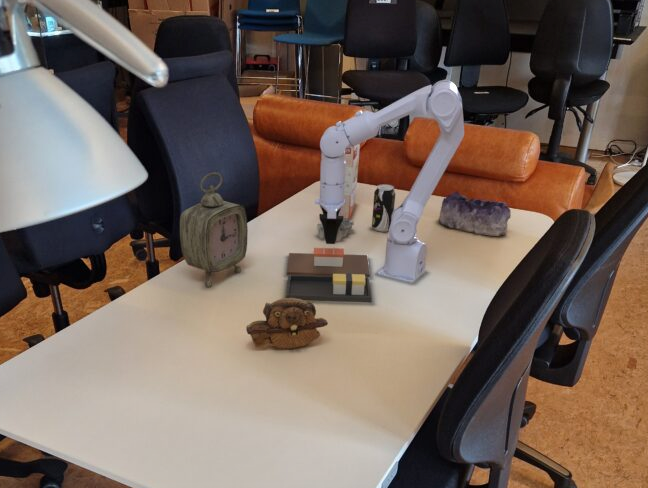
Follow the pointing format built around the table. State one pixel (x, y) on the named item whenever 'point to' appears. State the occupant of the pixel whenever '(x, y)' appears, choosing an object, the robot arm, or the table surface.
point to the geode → (474, 215)
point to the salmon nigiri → (328, 257)
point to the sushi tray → (321, 289)
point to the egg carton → (342, 231)
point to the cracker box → (350, 180)
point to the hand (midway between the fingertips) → (330, 237)
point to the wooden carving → (286, 324)
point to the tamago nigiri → (348, 284)
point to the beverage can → (383, 207)
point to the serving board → (305, 266)
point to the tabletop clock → (213, 233)
